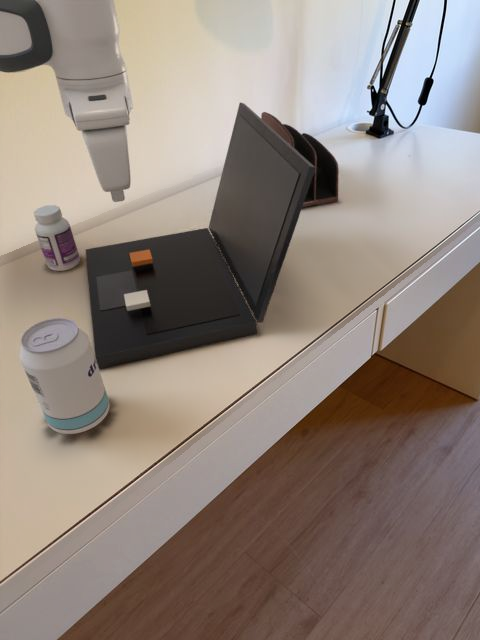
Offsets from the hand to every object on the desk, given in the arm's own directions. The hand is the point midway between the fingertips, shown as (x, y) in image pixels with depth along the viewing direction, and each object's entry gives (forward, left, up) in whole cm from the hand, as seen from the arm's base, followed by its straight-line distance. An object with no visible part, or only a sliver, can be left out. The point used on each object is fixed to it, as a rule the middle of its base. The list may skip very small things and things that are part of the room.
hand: (118, 197), depth 78 cm
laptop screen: (+18, -8, -1) cm, 19 cm away
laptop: (+3, -8, -13) cm, 15 cm away
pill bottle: (-11, +7, -13) cm, 18 cm away
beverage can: (-10, -31, -13) cm, 35 cm away
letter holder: (+36, +22, -13) cm, 44 cm away
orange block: (+1, -2, -10) cm, 11 cm away
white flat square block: (-1, -14, -10) cm, 17 cm away
